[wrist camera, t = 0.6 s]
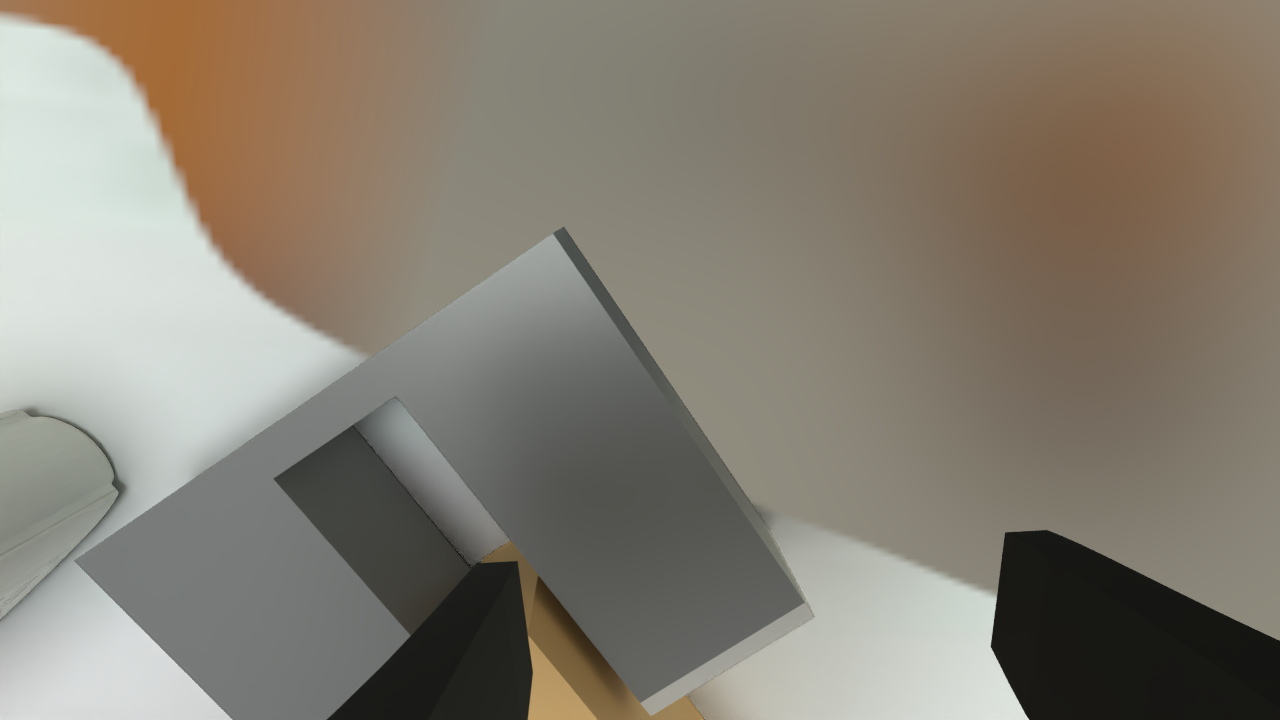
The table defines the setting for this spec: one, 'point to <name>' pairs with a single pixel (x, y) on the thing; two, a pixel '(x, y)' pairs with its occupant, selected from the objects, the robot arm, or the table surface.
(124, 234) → the table surface
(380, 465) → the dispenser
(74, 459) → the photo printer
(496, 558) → the tan rectangular block
